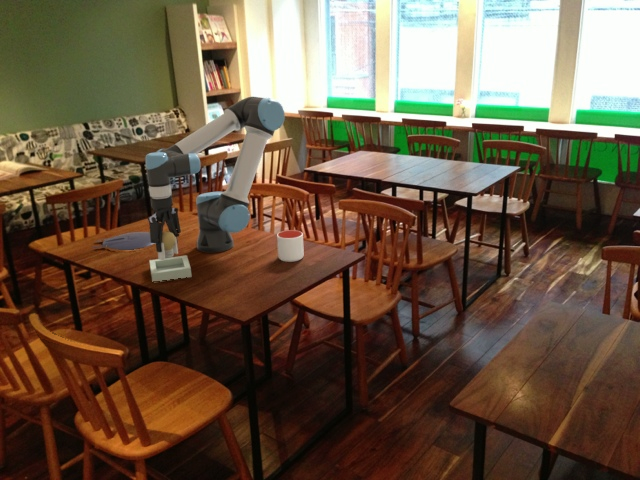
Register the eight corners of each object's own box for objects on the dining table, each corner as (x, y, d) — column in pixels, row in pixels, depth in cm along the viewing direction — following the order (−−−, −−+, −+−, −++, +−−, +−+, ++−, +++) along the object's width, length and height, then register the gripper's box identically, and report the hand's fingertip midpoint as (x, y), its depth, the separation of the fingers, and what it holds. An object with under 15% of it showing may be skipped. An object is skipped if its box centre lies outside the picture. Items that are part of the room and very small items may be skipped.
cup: (308, 255, 232) (307, 231, 229) (296, 264, 223) (295, 239, 220) (285, 252, 236) (284, 228, 233) (273, 261, 228) (272, 236, 224)
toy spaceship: (90, 257, 239) (89, 249, 238) (97, 238, 261) (95, 231, 260) (160, 249, 245) (159, 242, 244) (161, 231, 267) (160, 225, 266)
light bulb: (168, 261, 213) (165, 235, 210) (156, 258, 217) (152, 233, 213) (181, 255, 218) (178, 230, 215) (168, 253, 222) (165, 228, 218)
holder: (187, 263, 228) (186, 255, 227) (191, 276, 215) (190, 268, 214) (150, 268, 224) (149, 260, 223) (152, 282, 211) (151, 273, 210)
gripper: (170, 188, 219) (177, 246, 227) (133, 202, 203) (142, 263, 211) (186, 190, 216) (193, 249, 224) (150, 204, 200) (158, 266, 208)
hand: (168, 256), depth 217 cm, fingers closed on light bulb, 6 cm apart
